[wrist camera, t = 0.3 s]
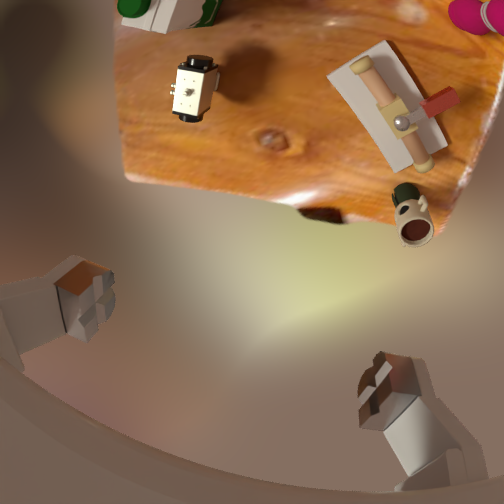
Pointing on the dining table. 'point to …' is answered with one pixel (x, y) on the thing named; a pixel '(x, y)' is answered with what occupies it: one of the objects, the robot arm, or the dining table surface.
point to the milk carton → (168, 14)
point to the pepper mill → (478, 16)
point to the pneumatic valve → (194, 87)
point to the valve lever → (428, 108)
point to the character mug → (412, 216)
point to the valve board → (374, 115)
